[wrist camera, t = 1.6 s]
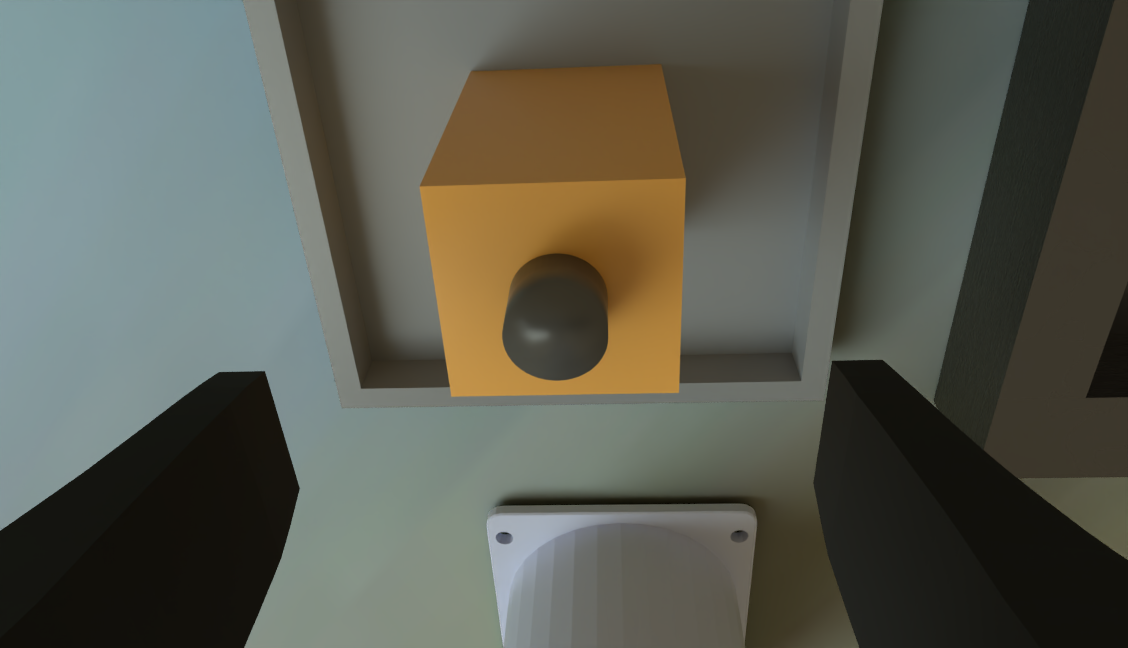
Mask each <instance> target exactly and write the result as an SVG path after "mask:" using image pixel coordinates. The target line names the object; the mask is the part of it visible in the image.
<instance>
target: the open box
mask: <svg viewBox="0 0 1128 648" xmlns="http://www.w3.org/2000/svg"><path fill="white" fill-rule="evenodd" d="M934 402H935V404H936V406H937V408H938V410H939V411H940V412H941V413H942V414H943V415H944V416H946V417H947V418H948V419H949V420H950V421H951V422H952V423H953V424H954V425H956V426H957V427H958V428H959V429H960V430H961V431H962V432H964V433H965V434H966V435H967V436H968V437H969V438H970V439H972V440H973V441H974V442H975V443H976V444H977V445H978V446H980V447H981V448H982V449H983V450H984V451H985V452H987V453H988V454H989V455H990V456H991V457H992V458H994V459H995V460H996V461H997V462H998V463H1000V464H1001V465H1002V466H1003V467H1004V468H1006V469H1007V470H1008V471H1009V472H1010V473H1012V474H1013V475H1014V476H1015V477H1017V478H1068V477H1128V0H1030V1H1029V5H1028V9H1027V13H1026V17H1025V22H1024V26H1023V30H1022V34H1021V38H1020V42H1019V47H1018V51H1017V55H1016V59H1015V63H1014V68H1013V72H1012V76H1011V80H1010V84H1009V89H1008V93H1007V97H1006V101H1005V105H1004V109H1003V114H1002V118H1001V122H1000V126H999V130H998V135H997V139H996V143H995V147H994V151H993V156H992V160H991V164H990V168H989V172H988V176H987V181H986V185H985V189H984V193H983V197H982V202H981V206H980V210H979V214H978V218H977V223H976V227H975V231H974V235H973V239H972V244H971V248H970V252H969V256H968V260H967V264H966V269H965V273H964V277H963V281H962V285H961V290H960V294H959V298H958V302H957V306H956V311H955V315H954V319H953V323H952V327H951V331H950V336H949V340H948V344H947V348H946V352H945V357H944V361H943V365H942V369H941V373H940V378H939V382H938V386H937V390H936V394H935V399H934Z"/></svg>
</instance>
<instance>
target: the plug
mask: <svg viewBox="0 0 1128 648" xmlns="http://www.w3.org/2000/svg"><path fill="white" fill-rule="evenodd" d="M419 187H420V193H421V200H422V207H423V213H424V220H425V226H426V233H427V240H428V246H429V253H430V259H431V266H432V273H433V279H434V286H435V292H436V299H437V305H438V312H439V319H440V325H441V332H442V338H443V345H444V352H445V358H446V365H447V371H448V378H449V384H450V391H451V397H460V396H520V395H581V394H641V393H679V377H680V346H681V314H682V283H683V252H684V220H685V189H686V177H685V172H684V168H683V163H682V158H681V154H680V149H679V144H678V140H677V135H676V130H675V126H674V121H673V117H672V112H671V107H670V103H669V98H668V93H667V89H666V84H665V80H664V75H663V70H662V66H661V64H650V65H624V66H598V67H572V68H546V69H520V70H494V71H471V72H470V74H469V76H468V78H467V81H466V83H465V85H464V87H463V90H462V92H461V94H460V96H459V99H458V101H457V103H456V105H455V108H454V110H453V112H452V114H451V117H450V119H449V121H448V123H447V126H446V128H445V130H444V132H443V135H442V137H441V139H440V141H439V144H438V146H437V148H436V150H435V153H434V155H433V157H432V159H431V162H430V164H429V166H428V168H427V171H426V173H425V175H424V177H423V180H422V182H421V184H420V186H419Z"/></svg>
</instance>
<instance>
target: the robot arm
mask: <svg viewBox="0 0 1128 648" xmlns="http://www.w3.org/2000/svg"><path fill="white" fill-rule="evenodd" d="M814 488H815V493H816V498H817V504H818V509H819V514H820V519H821V524H822V529H823V533H824V538H825V543H826V547H827V552H828V556H829V559H830V562H831V565H832V568H833V571H834V575H835V577H836V580H837V583H838V586H839V589H840V592H841V595H842V598H843V601H844V604H845V607H846V610H847V613H848V616H849V619H850V622H851V625H852V628H853V630H854V633H855V636H856V639H857V642H858V645H859V648H1128V560H1127V559H1125V558H1124V557H1122V556H1121V555H1119V554H1118V553H1116V552H1115V551H1113V550H1112V549H1111V548H1109V547H1108V546H1106V545H1105V544H1103V543H1102V542H1101V541H1099V540H1098V539H1096V538H1095V537H1094V536H1092V535H1091V534H1089V533H1088V532H1087V531H1085V530H1084V529H1083V528H1081V527H1080V526H1079V525H1077V524H1076V523H1075V522H1073V521H1072V520H1071V519H1069V518H1068V517H1067V516H1065V515H1064V514H1063V513H1062V512H1060V511H1059V510H1058V509H1056V508H1055V507H1054V506H1052V505H1051V504H1050V503H1048V502H1047V501H1046V500H1044V499H1043V498H1042V497H1041V496H1039V495H1038V494H1037V493H1035V492H1034V491H1033V490H1032V489H1030V488H1029V487H1028V486H1027V485H1025V484H1024V483H1023V482H1022V481H1020V480H1019V479H1018V478H1017V477H1015V476H1014V475H1013V474H1012V473H1010V472H1009V471H1008V470H1007V469H1006V468H1004V467H1003V466H1002V465H1001V464H1000V463H998V462H997V461H996V460H995V459H994V458H992V457H991V456H990V455H989V454H988V453H987V452H985V451H984V450H983V449H982V448H981V447H980V446H978V445H977V444H976V443H975V442H974V441H973V440H972V439H970V438H969V437H968V436H967V435H966V434H965V433H964V432H962V431H961V430H960V429H959V428H958V427H957V426H956V425H954V424H953V423H952V422H951V421H950V420H949V419H948V418H947V417H946V416H944V415H943V414H942V413H941V412H940V411H939V410H938V409H937V408H936V407H934V406H933V405H932V404H931V403H930V402H929V401H928V400H927V399H926V398H924V397H923V396H922V395H921V394H920V393H919V392H918V391H917V390H916V389H915V388H913V387H912V386H911V385H910V384H909V383H908V382H907V381H906V380H905V379H904V378H902V377H901V376H900V375H899V374H898V373H897V372H896V371H895V370H893V369H892V368H891V367H890V366H889V365H888V364H887V363H885V362H884V361H883V360H851V361H832V365H831V371H830V378H829V385H828V391H827V398H826V404H825V411H824V418H823V424H822V431H821V437H820V444H819V450H818V457H817V464H816V470H815V477H814ZM299 489H300V488H299V485H298V481H297V478H296V475H295V471H294V468H293V464H292V461H291V458H290V454H289V451H288V448H287V444H286V441H285V438H284V434H283V431H282V427H281V424H280V421H279V417H278V414H277V411H276V407H275V404H274V400H273V397H272V394H271V390H270V387H269V384H268V380H267V377H266V374H265V371H255V372H219V373H217V374H216V375H214V376H212V377H211V378H209V379H208V380H206V381H205V382H203V383H202V384H201V385H199V386H198V387H196V388H195V389H194V390H192V391H191V392H190V393H188V394H187V395H185V396H184V397H183V398H181V399H180V400H179V401H177V402H176V403H175V404H173V405H172V406H171V407H170V408H168V409H167V410H166V411H164V412H163V413H162V414H160V415H159V416H158V417H156V418H155V419H154V420H152V421H151V422H150V423H149V424H147V425H146V426H145V427H143V428H142V429H141V430H139V431H138V432H137V433H135V434H134V435H133V436H131V437H130V438H129V439H127V440H126V441H125V442H123V443H122V444H121V445H119V446H118V447H117V448H116V449H114V450H113V451H112V452H110V453H109V454H108V455H106V456H105V457H104V458H102V459H101V460H100V461H98V462H97V463H96V464H94V465H93V466H92V467H90V468H89V469H88V470H86V471H85V472H84V473H82V474H81V475H79V476H78V477H77V478H75V479H74V480H72V481H71V482H69V483H68V484H67V485H65V486H64V487H62V488H61V489H59V490H58V491H57V492H55V493H54V494H52V495H51V496H49V497H48V498H47V499H45V500H44V501H42V502H41V503H39V504H38V505H37V506H35V507H34V508H32V509H31V510H29V511H28V512H27V513H25V514H24V515H22V516H21V517H19V518H18V519H17V520H15V521H14V522H12V523H11V524H9V525H8V526H7V527H5V528H4V529H2V530H1V531H0V648H244V647H245V644H246V642H247V640H248V637H249V635H250V632H251V630H252V628H253V625H254V623H255V621H256V618H257V616H258V614H259V611H260V609H261V606H262V604H263V601H264V599H265V597H266V594H267V592H268V589H269V587H270V585H271V582H272V580H273V577H274V575H275V572H276V570H277V567H278V565H279V562H280V560H281V557H282V553H283V550H284V546H285V543H286V539H287V536H288V532H289V529H290V525H291V521H292V517H293V513H294V509H295V505H296V501H297V497H298V493H299ZM738 530H742V532H739V533H735V532H734V531H738ZM487 532H488V540H489V547H490V554H491V561H492V569H493V576H494V583H495V591H496V598H497V605H498V612H499V620H500V627H501V634H502V641H503V648H745V635H746V626H747V616H748V607H749V597H750V588H751V579H752V569H753V560H754V550H755V541H756V532H757V518H756V513H755V510H754V509H753V508H752V507H751V506H749V505H746V504H636V505H527V506H498V507H495V508H493V509H491V510H490V512H489V513H488V518H487ZM500 532H507V533H510V534H507V535H506V534H502V533H500Z"/></svg>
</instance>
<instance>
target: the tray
mask: <svg viewBox="0 0 1128 648" xmlns="http://www.w3.org/2000/svg"><path fill="white" fill-rule="evenodd" d="M243 3H244V7H245V11H246V15H247V19H248V23H249V28H250V32H251V36H252V40H253V44H254V48H255V52H256V56H257V61H258V65H259V69H260V73H261V77H262V81H263V85H264V89H265V94H266V98H267V102H268V106H269V110H270V114H271V118H272V122H273V127H274V131H275V135H276V139H277V143H278V147H279V151H280V155H281V160H282V164H283V168H284V172H285V176H286V180H287V184H288V188H289V193H290V197H291V201H292V205H293V209H294V213H295V217H296V221H297V225H298V230H299V234H300V238H301V242H302V246H303V250H304V254H305V258H306V263H307V267H308V271H309V275H310V279H311V283H312V287H313V291H314V296H315V300H316V304H317V308H318V312H319V316H320V320H321V324H322V329H323V333H324V337H325V341H326V345H327V349H328V353H329V357H330V362H331V366H332V370H333V374H334V378H335V382H336V386H337V390H338V395H339V399H340V403H341V407H342V408H386V407H449V406H512V405H575V404H638V403H701V402H764V401H824V395H825V388H826V382H827V375H828V368H829V362H830V355H831V348H832V342H833V335H834V328H835V321H836V315H837V308H838V301H839V295H840V288H841V281H842V275H843V268H844V261H845V255H846V248H847V241H848V234H849V228H850V221H851V214H852V208H853V201H854V194H855V188H856V181H857V174H858V167H859V161H860V154H861V147H862V141H863V134H864V127H865V121H866V114H867V107H868V101H869V94H870V87H871V80H872V74H873V67H874V60H875V54H876V47H877V40H878V34H879V27H880V20H881V13H882V7H883V0H243ZM650 64H661V66H662V70H663V75H664V80H665V84H666V89H667V93H668V98H669V103H670V107H671V112H672V117H673V121H674V126H675V130H676V135H677V140H678V144H679V149H680V154H681V158H682V163H683V168H684V172H685V177H686V189H685V220H684V252H683V283H682V314H681V346H680V377H679V393H641V394H581V395H520V396H460V397H451V391H450V384H449V378H448V371H447V365H446V358H445V352H444V345H443V338H442V332H441V325H440V319H439V312H438V305H437V299H436V292H435V286H434V279H433V273H432V266H431V259H430V253H429V246H428V240H427V233H426V226H425V220H424V213H423V207H422V200H421V193H420V187H419V186H420V184H421V182H422V180H423V177H424V175H425V173H426V171H427V168H428V166H429V164H430V162H431V159H432V157H433V155H434V153H435V150H436V148H437V146H438V144H439V141H440V139H441V137H442V135H443V132H444V130H445V128H446V126H447V123H448V121H449V119H450V117H451V114H452V112H453V110H454V108H455V105H456V103H457V101H458V99H459V96H460V94H461V92H462V90H463V87H464V85H465V83H466V81H467V78H468V76H469V74H470V72H471V71H494V70H520V69H546V68H572V67H598V66H624V65H650Z"/></svg>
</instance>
